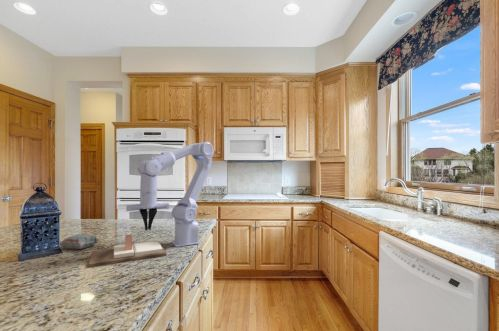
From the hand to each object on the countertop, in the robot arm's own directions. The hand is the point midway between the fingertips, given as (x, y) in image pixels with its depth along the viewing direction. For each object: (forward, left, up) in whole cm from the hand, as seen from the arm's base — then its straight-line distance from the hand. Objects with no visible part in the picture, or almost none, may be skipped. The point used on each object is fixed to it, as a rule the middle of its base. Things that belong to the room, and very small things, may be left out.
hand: (147, 229), depth 90 cm
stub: (+8, 0, -7) cm, 11 cm away
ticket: (0, 0, -8) cm, 8 cm away
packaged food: (+23, -17, -9) cm, 30 cm away
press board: (+6, 0, -8) cm, 10 cm away
